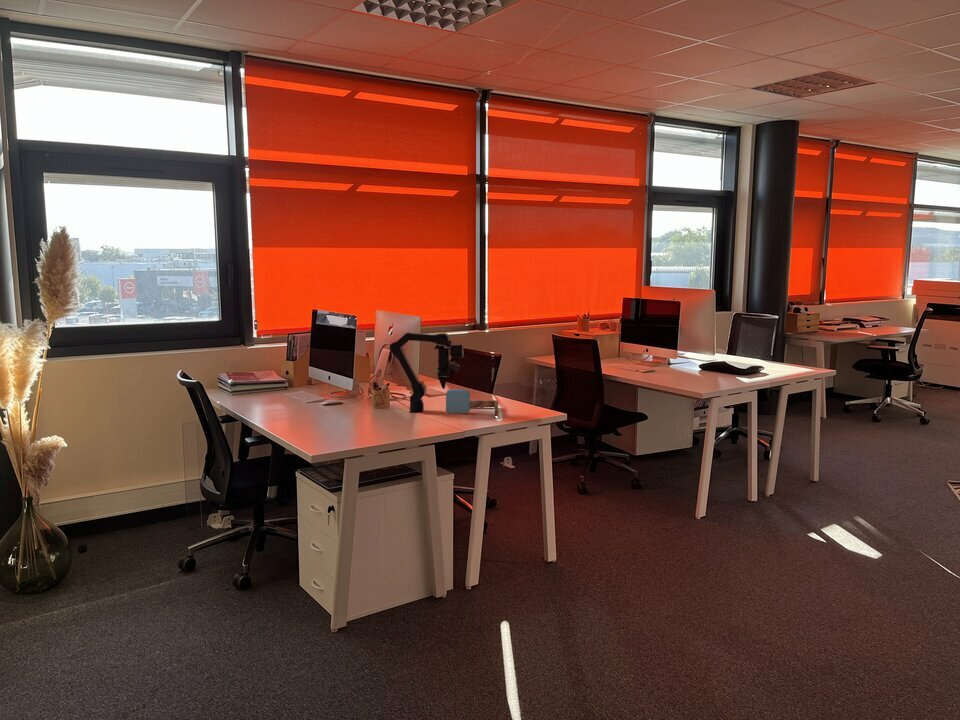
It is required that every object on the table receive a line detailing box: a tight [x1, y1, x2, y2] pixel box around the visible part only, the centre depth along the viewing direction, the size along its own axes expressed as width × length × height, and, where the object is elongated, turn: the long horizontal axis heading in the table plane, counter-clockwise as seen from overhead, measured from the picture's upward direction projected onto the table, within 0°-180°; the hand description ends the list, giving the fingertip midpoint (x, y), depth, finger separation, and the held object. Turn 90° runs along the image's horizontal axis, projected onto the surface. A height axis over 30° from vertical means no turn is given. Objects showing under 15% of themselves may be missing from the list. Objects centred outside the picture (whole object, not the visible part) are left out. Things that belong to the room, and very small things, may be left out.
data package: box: [445, 388, 471, 414], centre depth 364 cm, size 12×4×12 cm, turn 81°
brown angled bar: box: [470, 399, 499, 417], centre depth 366 cm, size 20×25×4 cm
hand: (443, 387), depth 364 cm, fingers open, 9 cm apart
